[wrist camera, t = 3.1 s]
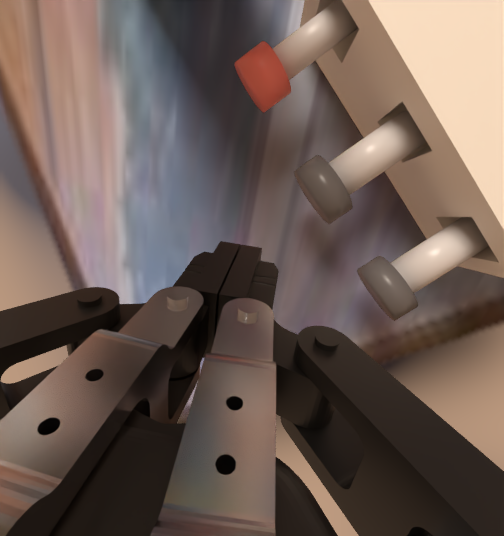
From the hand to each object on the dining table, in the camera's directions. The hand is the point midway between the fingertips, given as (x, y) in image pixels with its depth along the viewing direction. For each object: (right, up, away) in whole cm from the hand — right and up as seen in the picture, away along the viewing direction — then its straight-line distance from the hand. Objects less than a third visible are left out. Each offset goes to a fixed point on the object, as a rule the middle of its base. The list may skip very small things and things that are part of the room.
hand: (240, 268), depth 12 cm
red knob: (+4, +17, +14) cm, 22 cm away
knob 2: (+14, +1, +17) cm, 22 cm away
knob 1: (+9, +8, +16) cm, 20 cm away
